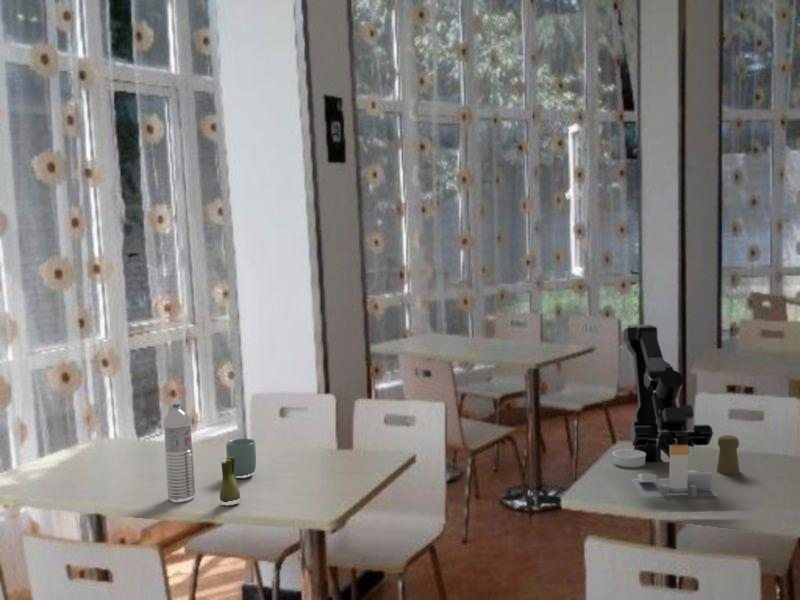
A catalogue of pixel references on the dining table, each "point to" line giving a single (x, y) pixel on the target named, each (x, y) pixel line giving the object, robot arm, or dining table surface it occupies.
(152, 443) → the dining table surface
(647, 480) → the rocker
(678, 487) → the lever
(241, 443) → the cup
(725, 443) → the cork
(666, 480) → the grey tray
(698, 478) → the grey rectangular panel
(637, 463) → the ramekin
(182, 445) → the water bottle
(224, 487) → the fennel bulb
